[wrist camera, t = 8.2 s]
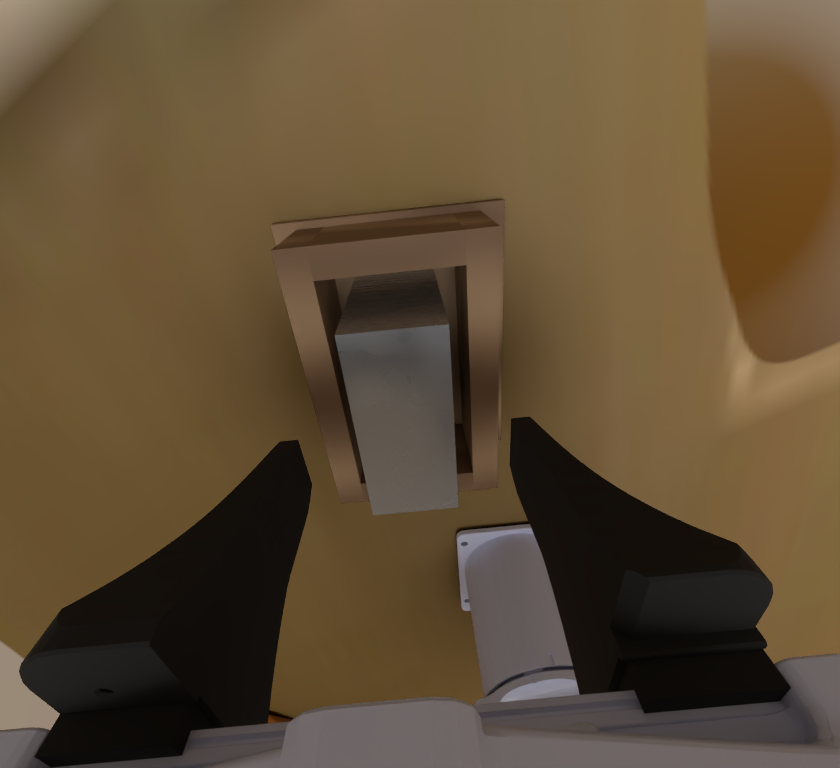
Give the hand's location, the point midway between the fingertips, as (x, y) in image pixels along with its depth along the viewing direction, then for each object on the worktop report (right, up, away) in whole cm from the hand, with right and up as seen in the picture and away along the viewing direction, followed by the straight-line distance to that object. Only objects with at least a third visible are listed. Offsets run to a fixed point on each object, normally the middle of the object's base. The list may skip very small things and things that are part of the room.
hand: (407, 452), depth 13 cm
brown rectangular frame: (0, +4, +7) cm, 8 cm away
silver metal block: (0, +4, +7) cm, 8 cm away
